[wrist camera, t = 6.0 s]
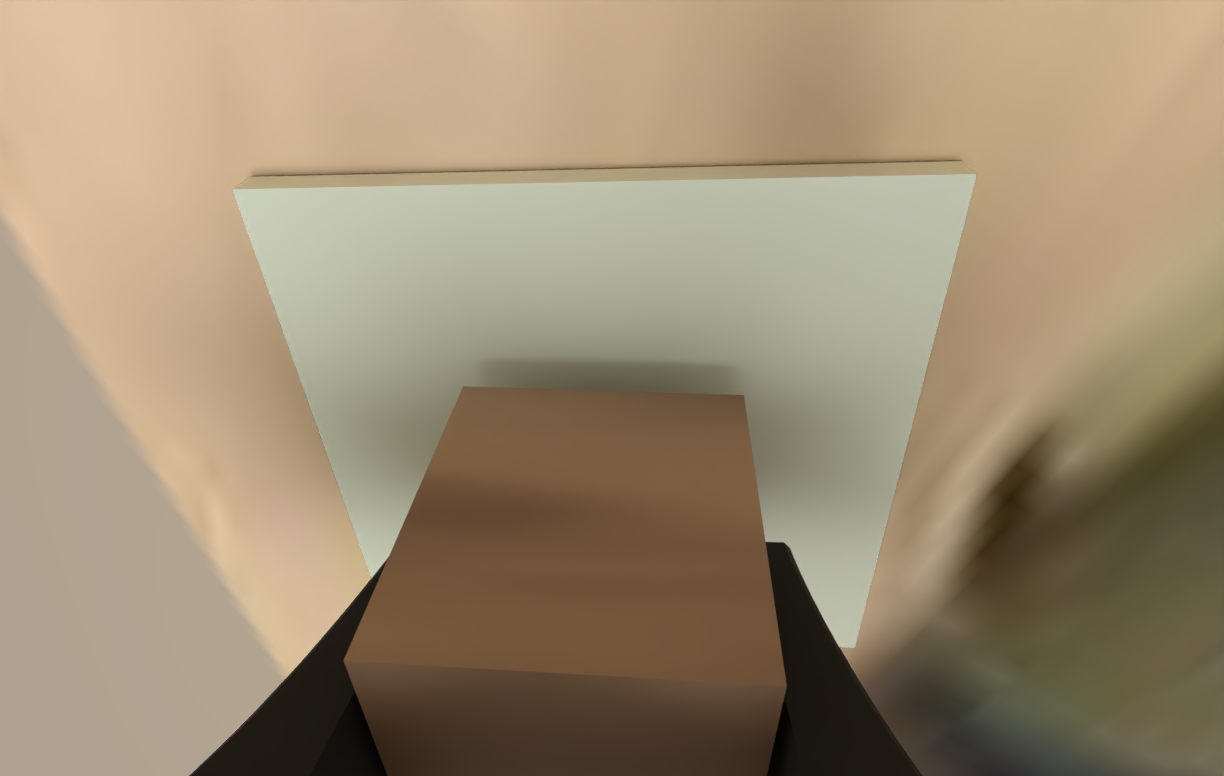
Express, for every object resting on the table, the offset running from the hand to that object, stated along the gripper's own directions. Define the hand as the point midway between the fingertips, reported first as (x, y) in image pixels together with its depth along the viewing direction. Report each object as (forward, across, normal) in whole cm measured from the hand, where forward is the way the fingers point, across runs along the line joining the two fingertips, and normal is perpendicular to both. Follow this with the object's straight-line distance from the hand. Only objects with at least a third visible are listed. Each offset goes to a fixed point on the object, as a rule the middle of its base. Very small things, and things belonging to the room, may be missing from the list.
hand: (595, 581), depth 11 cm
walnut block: (+2, 0, 0) cm, 2 cm away
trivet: (+3, 0, 0) cm, 3 cm away
